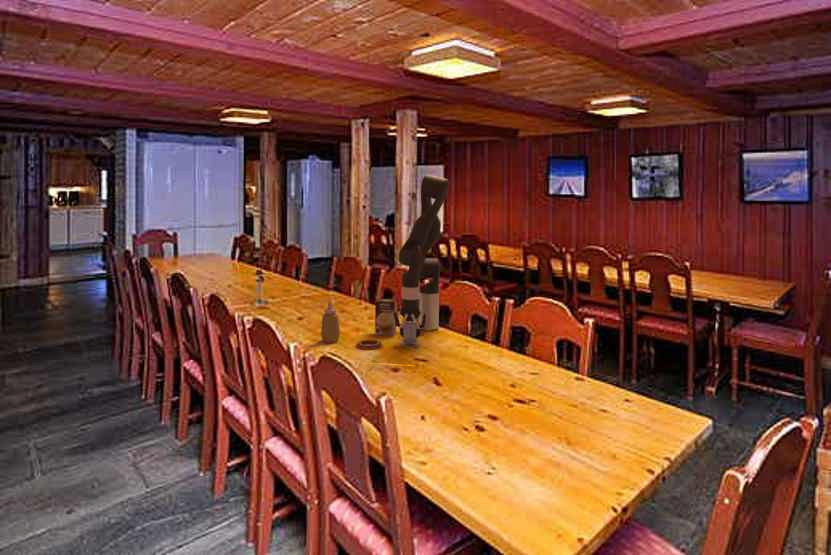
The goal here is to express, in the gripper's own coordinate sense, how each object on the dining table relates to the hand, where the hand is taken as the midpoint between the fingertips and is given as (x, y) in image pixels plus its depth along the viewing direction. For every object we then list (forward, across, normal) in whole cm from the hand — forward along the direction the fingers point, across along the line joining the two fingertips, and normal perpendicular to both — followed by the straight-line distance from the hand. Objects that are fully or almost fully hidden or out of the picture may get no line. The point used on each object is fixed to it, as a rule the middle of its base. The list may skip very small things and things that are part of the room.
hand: (410, 336), depth 232 cm
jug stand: (+4, -16, -6) cm, 18 cm away
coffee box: (+4, -14, +15) cm, 21 cm away
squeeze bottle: (+4, -34, -2) cm, 34 cm away
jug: (+2, 0, -3) cm, 3 cm away
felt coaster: (+4, 0, 0) cm, 4 cm away
